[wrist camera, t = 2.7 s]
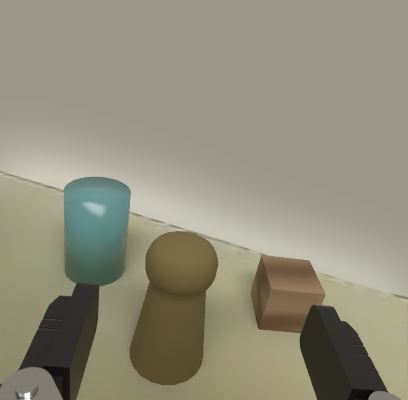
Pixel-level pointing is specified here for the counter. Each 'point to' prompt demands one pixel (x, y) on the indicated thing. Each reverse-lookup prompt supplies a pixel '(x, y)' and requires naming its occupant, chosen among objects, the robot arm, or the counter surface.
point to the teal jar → (95, 229)
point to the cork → (174, 308)
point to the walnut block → (284, 293)
